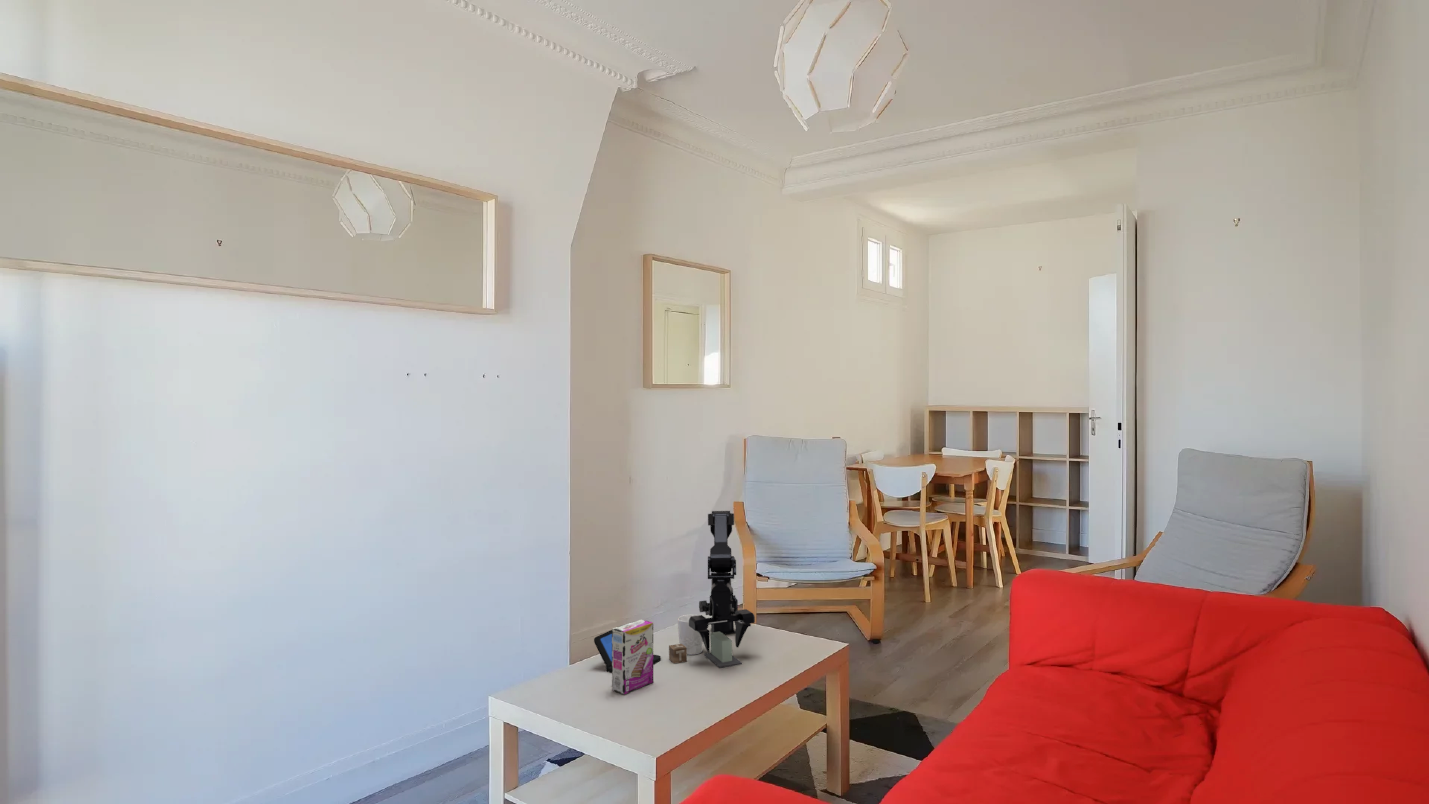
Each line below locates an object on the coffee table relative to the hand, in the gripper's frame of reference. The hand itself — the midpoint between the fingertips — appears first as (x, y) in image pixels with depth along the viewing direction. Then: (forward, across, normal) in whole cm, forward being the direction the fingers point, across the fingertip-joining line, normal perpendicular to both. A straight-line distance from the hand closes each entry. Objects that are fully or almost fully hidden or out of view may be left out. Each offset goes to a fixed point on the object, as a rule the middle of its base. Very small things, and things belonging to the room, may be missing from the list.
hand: (722, 649), depth 221 cm
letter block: (+3, +12, -5) cm, 13 cm away
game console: (+4, +26, -8) cm, 27 cm away
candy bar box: (+3, +30, +10) cm, 31 cm away
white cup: (+3, +6, -11) cm, 13 cm away
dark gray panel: (+3, 0, 0) cm, 3 cm away
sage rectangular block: (+2, 0, -1) cm, 3 cm away
